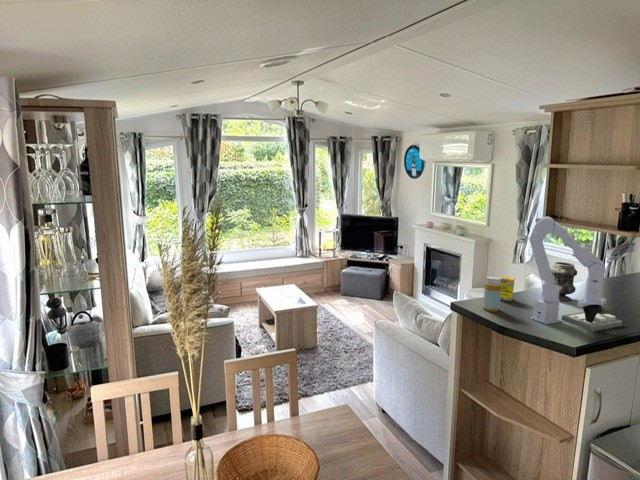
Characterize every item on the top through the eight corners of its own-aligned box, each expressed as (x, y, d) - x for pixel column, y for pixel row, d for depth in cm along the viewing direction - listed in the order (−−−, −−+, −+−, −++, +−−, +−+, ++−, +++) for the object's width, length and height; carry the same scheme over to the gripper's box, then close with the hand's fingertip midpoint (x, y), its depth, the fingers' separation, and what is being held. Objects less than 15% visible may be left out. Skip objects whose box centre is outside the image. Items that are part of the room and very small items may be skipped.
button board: (592, 331, 176) (593, 326, 175) (561, 319, 188) (562, 314, 188) (622, 325, 183) (622, 320, 182) (590, 315, 195) (590, 310, 195)
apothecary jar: (570, 296, 223) (574, 261, 220) (577, 303, 212) (582, 267, 209) (544, 294, 226) (548, 259, 223) (549, 301, 215) (554, 265, 211)
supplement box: (498, 300, 214) (500, 278, 212) (499, 297, 219) (501, 275, 217) (511, 302, 211) (513, 280, 209) (512, 299, 216) (514, 277, 214)
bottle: (479, 308, 201) (482, 276, 199) (490, 306, 204) (493, 275, 202) (491, 313, 195) (494, 280, 193) (502, 310, 198) (505, 278, 196)
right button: (609, 322, 183) (610, 317, 182) (601, 320, 186) (602, 314, 186) (615, 321, 184) (615, 316, 184) (606, 319, 187) (607, 313, 187)
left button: (589, 329, 178) (590, 323, 178) (581, 326, 181) (582, 320, 181) (595, 328, 180) (596, 322, 179) (587, 325, 183) (588, 319, 182)
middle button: (599, 324, 180) (600, 319, 180) (591, 321, 184) (592, 316, 183) (605, 323, 182) (606, 318, 181) (597, 320, 185) (598, 315, 185)
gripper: (590, 294, 171) (586, 327, 174) (615, 290, 177) (610, 323, 179) (574, 289, 178) (570, 321, 180) (598, 286, 183) (594, 317, 186)
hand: (589, 321), depth 180 cm, fingers closed, pressing on left button
